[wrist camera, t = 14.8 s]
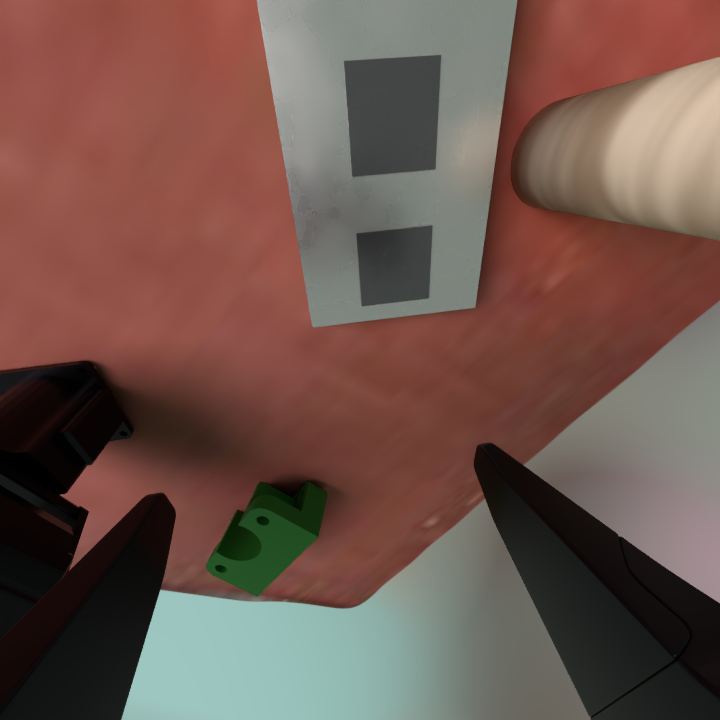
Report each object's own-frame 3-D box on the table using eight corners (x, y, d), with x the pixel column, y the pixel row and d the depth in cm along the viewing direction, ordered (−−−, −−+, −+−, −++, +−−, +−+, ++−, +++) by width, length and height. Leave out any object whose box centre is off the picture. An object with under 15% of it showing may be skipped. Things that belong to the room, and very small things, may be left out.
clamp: (278, 445, 32) (268, 484, 23) (324, 472, 33) (330, 519, 24) (215, 537, 31) (182, 610, 23) (263, 561, 32) (248, 640, 24)
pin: (492, 183, 17) (797, 212, 7) (553, 76, 15) (1160, -150, 4) (556, 221, 19) (887, 296, 8) (619, 129, 17) (1188, 60, 6)
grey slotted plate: (312, 313, 20) (312, 328, 18) (112, -891, 6) (33, -1311, 4) (462, 296, 21) (475, 308, 19) (585, -824, 7) (678, -1161, 5)
